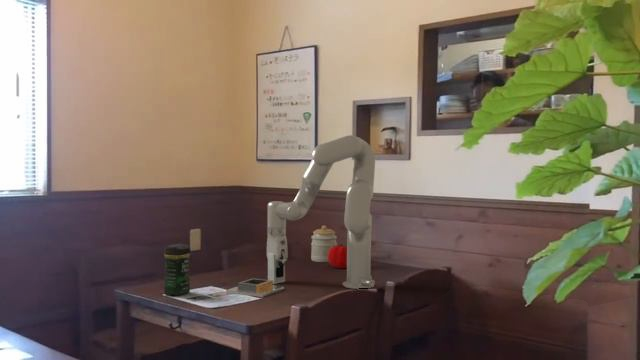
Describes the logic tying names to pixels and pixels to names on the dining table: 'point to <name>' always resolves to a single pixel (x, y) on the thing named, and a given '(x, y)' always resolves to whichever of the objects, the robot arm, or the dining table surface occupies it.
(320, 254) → the jar
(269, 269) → the skincare box
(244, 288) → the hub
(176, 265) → the coffee jar
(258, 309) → the dining table surface
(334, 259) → the tomato
